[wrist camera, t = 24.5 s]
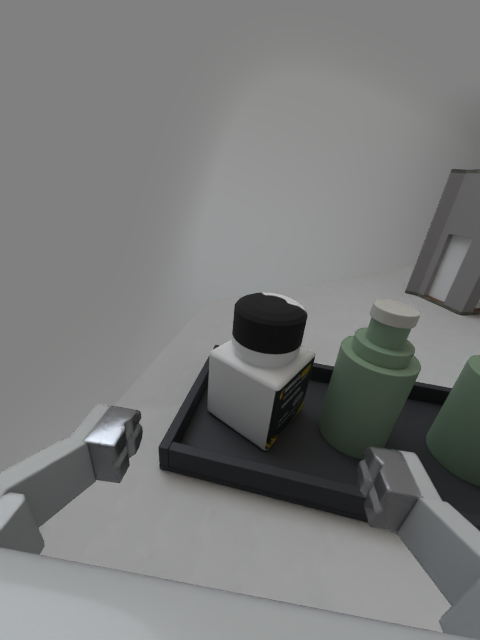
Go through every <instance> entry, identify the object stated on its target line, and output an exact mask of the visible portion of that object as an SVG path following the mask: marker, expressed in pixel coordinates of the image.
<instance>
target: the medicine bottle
mask: <svg viewBox="0 0 480 640" xmlns="http://www.w3.org/2000/svg"><path fill="white" fill-rule="evenodd" d="M306 320H307V312H306V310H305V309H304V307H303V306H302V305H301V304H300V303H298V302H296V301H295V300H293V299H291V298H289V297H286V296H283V295H280V294H275V293H255V294H250V295H246V296H244V297H242V298H240V299H239V300H238V301H237V302H236V304H235V309H234V321H233V332H232V339H231V340H230V341H228V342H226V343H224V344H222V345H221V346H219V347H217V348H215V349H213V350H212V351H210V358H209V380H208V401H207V410H208V412H210V413H211V414H213V415H214V416H216V417H217V418H218V419H220V420H221V421H223V422H224V423H225V424H227V425H228V426H230V427H231V428H233V429H234V430H235V431H237V432H238V433H240V434H241V435H242V436H244V437H245V438H247V439H248V440H250V441H251V442H252V443H254V444H255V445H257V446H258V447H259V448H261V449H262V450H268V449H269V447H270V446H271V445H272V444H273V443H274V441H275V440H276V439H277V438H278V437H279V435H280V434H281V433H282V432H283V431H284V429H285V428H286V427H287V426H288V425H289V423H290V422H291V421H292V420H293V419H294V417H295V416H296V415H297V414H298V413H299V411H300V410H301V409H302V406H303V402H304V398H305V394H306V390H307V387H308V383H309V379H310V375H311V371H312V367H313V363H314V359H315V352H314V351H312V350H310V349H307V348H305V347H303V346H301V343H302V338H303V334H304V329H305V325H306Z"/></svg>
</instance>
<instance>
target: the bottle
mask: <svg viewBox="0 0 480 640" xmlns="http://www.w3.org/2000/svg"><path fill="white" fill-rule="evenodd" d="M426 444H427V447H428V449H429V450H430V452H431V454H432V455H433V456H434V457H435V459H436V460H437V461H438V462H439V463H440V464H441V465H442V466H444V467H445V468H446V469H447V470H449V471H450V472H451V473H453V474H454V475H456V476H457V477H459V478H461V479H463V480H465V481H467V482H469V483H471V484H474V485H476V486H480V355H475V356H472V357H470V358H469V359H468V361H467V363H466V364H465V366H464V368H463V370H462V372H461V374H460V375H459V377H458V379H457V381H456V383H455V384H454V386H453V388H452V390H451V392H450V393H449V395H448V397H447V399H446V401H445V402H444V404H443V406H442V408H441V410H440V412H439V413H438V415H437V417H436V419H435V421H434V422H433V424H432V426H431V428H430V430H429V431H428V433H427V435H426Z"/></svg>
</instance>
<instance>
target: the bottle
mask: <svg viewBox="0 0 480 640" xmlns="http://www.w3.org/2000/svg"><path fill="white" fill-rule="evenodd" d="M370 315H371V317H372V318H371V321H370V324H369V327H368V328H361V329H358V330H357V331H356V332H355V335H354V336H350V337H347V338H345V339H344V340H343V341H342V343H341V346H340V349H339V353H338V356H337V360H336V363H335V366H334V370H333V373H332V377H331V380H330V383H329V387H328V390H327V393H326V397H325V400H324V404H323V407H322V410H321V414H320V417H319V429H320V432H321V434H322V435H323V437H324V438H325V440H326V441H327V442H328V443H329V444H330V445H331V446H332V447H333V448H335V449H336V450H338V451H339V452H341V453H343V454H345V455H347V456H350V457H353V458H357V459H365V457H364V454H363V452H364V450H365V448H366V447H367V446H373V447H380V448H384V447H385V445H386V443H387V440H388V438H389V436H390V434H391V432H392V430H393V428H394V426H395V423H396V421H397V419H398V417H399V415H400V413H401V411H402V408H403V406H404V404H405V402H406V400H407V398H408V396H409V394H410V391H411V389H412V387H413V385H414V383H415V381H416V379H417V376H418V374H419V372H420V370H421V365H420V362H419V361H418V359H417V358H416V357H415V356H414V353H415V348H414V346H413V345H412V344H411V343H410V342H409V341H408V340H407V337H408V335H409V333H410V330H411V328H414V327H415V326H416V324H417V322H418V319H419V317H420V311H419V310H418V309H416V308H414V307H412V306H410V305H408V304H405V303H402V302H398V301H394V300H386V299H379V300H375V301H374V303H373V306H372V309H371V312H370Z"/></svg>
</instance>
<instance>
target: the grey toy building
mask: <svg viewBox="0 0 480 640" xmlns="http://www.w3.org/2000/svg"><path fill="white" fill-rule="evenodd" d="M405 293H409V294H413V295H417V296H419V297H422V298H424V299H426V300H428V301H431V302H433V303H435V304H437V305H439V306H442V307H444V308H446V309H448V310H450V311H453V312H455V313H457V314H459V315H468V314H480V169H479V170H460V169H452V170H451V173H450V175H449V178H448V180H447V183H446V186H445V188H444V191H443V194H442V196H441V199H440V201H439V204H438V207H437V209H436V212H435V215H434V217H433V220H432V222H431V225H430V228H429V231H428V233H427V236H426V238H425V241H424V244H423V246H422V249H421V252H420V254H419V257H418V259H417V262H416V265H415V267H414V270H413V273H412V275H411V278H410V280H409V283H408V286H407V288H406V291H405Z"/></svg>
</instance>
